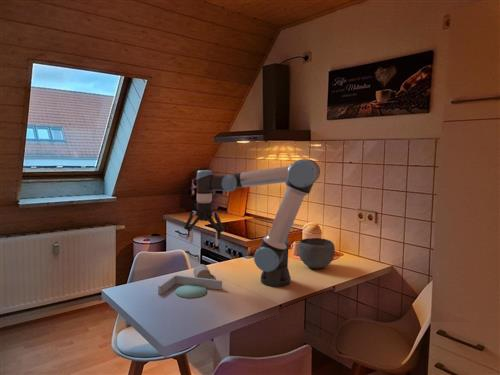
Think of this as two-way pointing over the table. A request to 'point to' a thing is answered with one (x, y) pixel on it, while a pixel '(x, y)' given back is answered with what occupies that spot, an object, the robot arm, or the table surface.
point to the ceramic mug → (203, 272)
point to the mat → (191, 291)
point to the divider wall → (199, 282)
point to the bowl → (316, 252)
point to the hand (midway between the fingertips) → (204, 244)
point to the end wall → (166, 285)
